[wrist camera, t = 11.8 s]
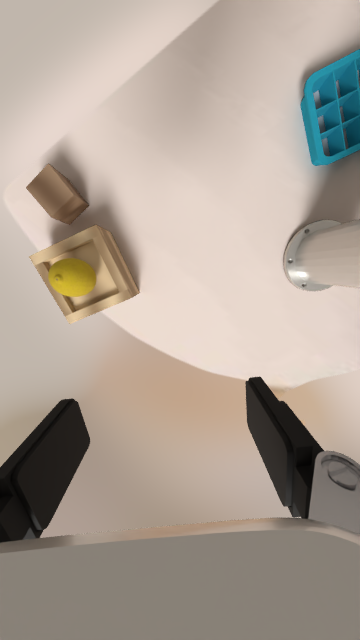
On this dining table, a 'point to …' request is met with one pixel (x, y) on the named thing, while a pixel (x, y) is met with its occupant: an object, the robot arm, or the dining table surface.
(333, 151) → the ice cube tray
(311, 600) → the robot arm
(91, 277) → the lemon
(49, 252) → the oak tray
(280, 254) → the dining table surface
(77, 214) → the walnut cube
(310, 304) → the dining table surface
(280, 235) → the dining table surface
